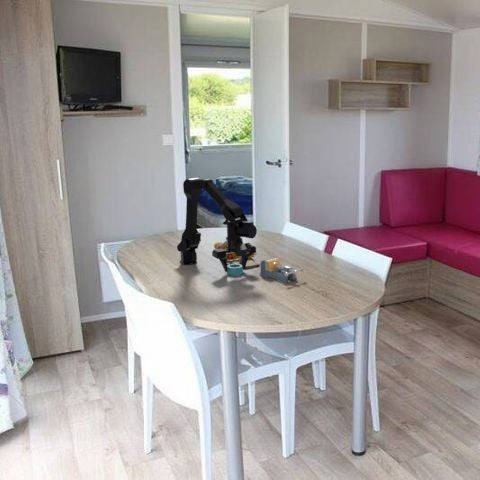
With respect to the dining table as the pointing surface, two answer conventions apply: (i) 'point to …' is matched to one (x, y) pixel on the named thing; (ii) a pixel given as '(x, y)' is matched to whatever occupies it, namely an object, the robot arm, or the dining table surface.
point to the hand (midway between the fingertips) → (234, 270)
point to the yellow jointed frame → (223, 246)
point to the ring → (234, 269)
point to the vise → (277, 270)
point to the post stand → (248, 265)
